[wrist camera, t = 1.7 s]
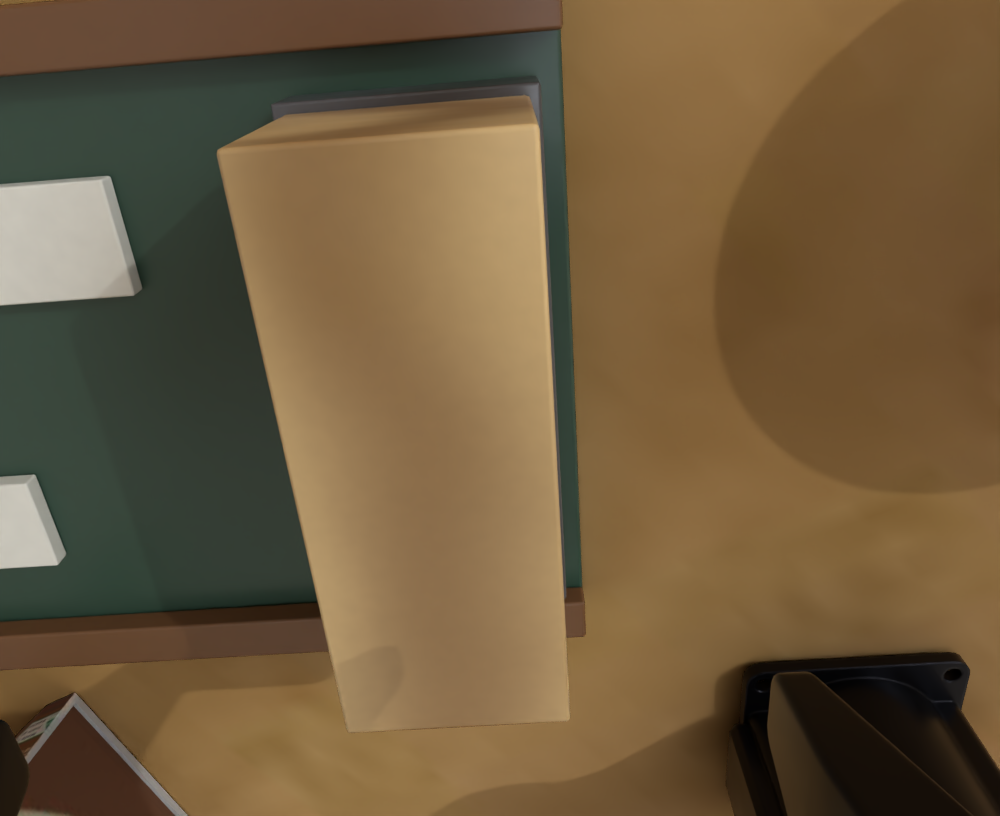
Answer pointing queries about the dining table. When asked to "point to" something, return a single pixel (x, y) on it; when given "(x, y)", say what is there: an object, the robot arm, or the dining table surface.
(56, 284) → the white rectangular block
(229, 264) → the slate board
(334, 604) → the eraser
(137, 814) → the food container
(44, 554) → the white rectangular block
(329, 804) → the dining table surface
